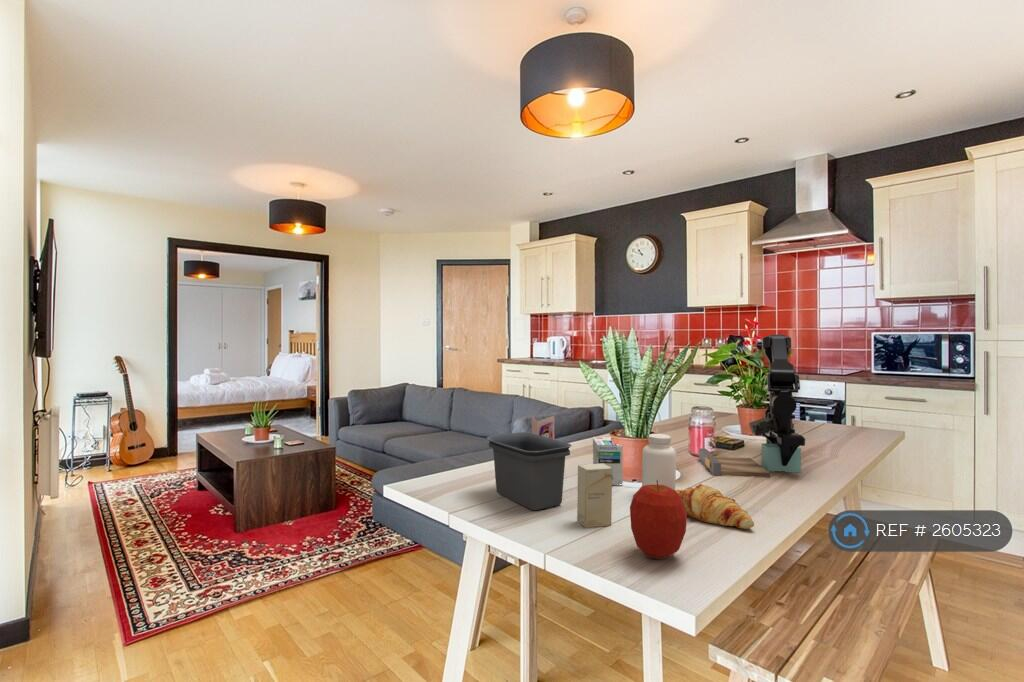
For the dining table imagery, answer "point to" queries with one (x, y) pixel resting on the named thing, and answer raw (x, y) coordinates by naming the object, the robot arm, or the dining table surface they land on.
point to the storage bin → (529, 468)
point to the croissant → (714, 507)
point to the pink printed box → (543, 427)
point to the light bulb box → (609, 457)
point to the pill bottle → (659, 462)
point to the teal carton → (779, 459)
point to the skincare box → (594, 495)
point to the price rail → (710, 461)
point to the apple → (658, 520)
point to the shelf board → (741, 467)
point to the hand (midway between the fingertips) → (780, 463)
